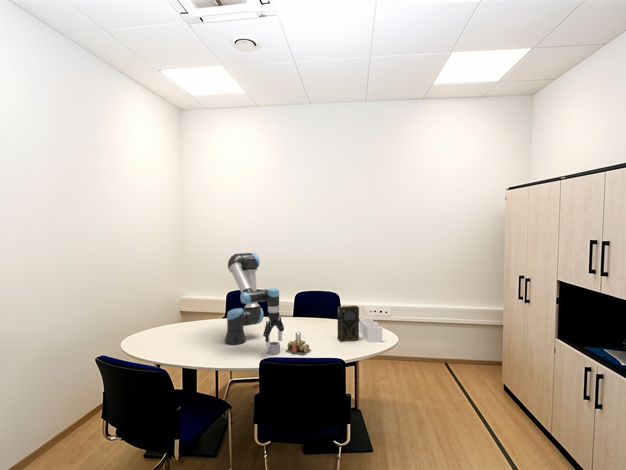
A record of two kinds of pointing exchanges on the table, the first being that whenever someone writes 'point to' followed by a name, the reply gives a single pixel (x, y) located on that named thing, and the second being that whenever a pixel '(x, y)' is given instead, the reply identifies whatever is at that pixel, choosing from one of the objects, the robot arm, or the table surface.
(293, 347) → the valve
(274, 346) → the coupling
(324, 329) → the table surface
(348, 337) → the voltmeter
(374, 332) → the storage container
